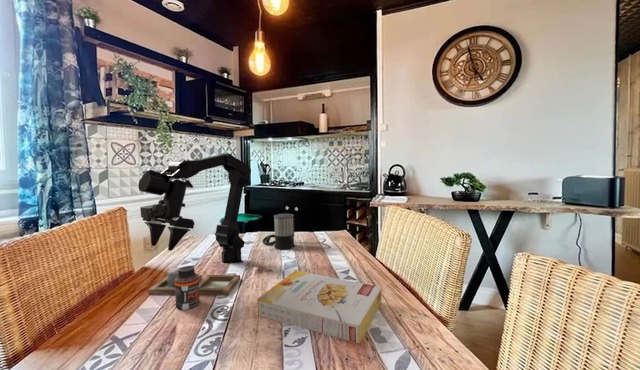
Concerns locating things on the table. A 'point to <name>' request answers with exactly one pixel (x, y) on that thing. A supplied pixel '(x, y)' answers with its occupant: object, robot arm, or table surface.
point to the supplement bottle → (187, 288)
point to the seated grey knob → (172, 277)
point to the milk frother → (282, 232)
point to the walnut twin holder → (202, 285)
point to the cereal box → (322, 304)
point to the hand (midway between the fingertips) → (161, 248)
